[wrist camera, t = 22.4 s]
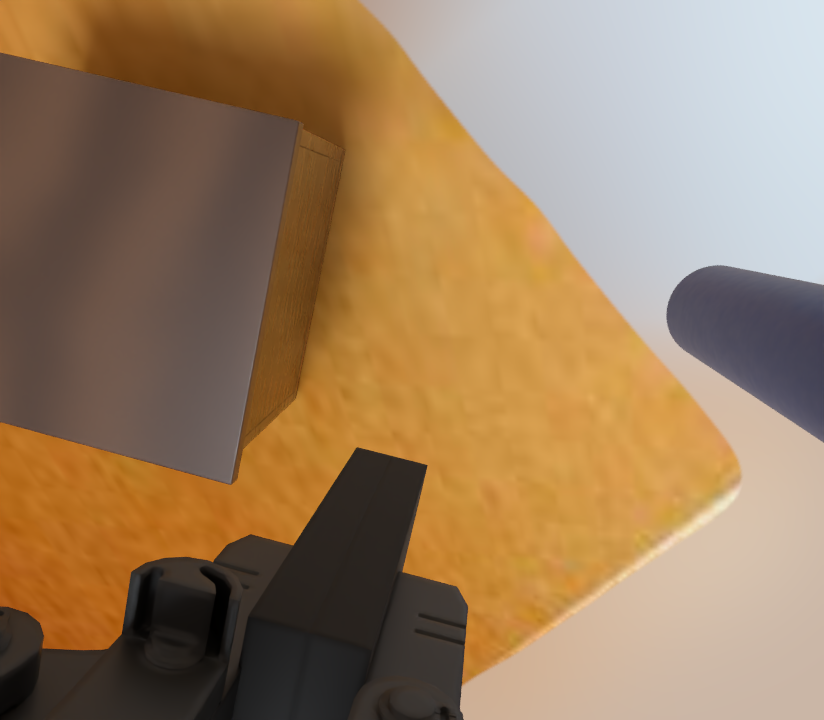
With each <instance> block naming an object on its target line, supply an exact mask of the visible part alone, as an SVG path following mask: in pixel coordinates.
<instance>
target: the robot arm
mask: <svg viewBox="0 0 824 720" xmlns="http://www.w3.org/2000/svg"><path fill="white" fill-rule="evenodd" d="M426 469H427V465H425V464H421V463H417V462H413V461H409V460H405V459H401V458H397V457H393V456H389V455H385V454H381V453H378V452H374V451H370V450H366V449H362V448H358V447H357V448H356V450H355V451H354V453H353V454H352V456H351V457H350V459H349V460H348V462H347V463H346V465H345V467H344V468H343V470H342V471H341V473H340V474H339V476H338V477H337V479H336V481H335V482H334V484H333V485H332V487H331V488H330V490H329V491H328V493H327V494H326V496H325V498H324V499H323V501H322V502H321V504H320V505H319V507H318V508H317V510H316V512H315V513H314V515H313V516H312V518H311V519H310V521H309V522H308V524H307V525H306V527H305V529H304V530H303V532H302V533H301V535H300V536H299V538H298V539H297V541H296V543H295V544H294V546H292V545H289V544H285V543H281V542H277V541H274V540H270V539H266V538H262V537H258V536H255V535H248V536H246V537H244V538H241V539H239V540H237V541H235V542H232V543H230V544H228V545H227V546H226V547H225V548H224V549H223V550H222V552H221V553H220V554H219V555H218V556H217V557H216V559H215V560H214V562H210V561H208V560H202V559H196V558H190V557H175V558H163V559H159V560H155V561H151V562H147V563H145V564H143V565H142V566H140V567H138V568H137V569H135V570H133V571H132V572H131V578H130V584H129V591H128V597H127V604H126V610H125V617H124V624H123V630H122V634H121V636H120V637H119V638H118V639H117V640H116V641H115V642H114V643H113V644H112V645H111V646H110V648H109V649H104V650H62V649H42V646H43V638H44V635H43V632H42V628H41V625H40V623H39V622H38V621H37V620H35V619H34V618H33V617H32V616H30V615H29V614H28V613H25V612H22V611H19V610H16V609H13V608H9V607H0V720H463V714H462V712H461V711H460V698H461V686H462V674H463V662H464V649H465V646H464V645H465V637H466V625H467V613H468V606H467V604H466V602H465V600H464V598H463V597H462V595H461V593H460V591H459V590H458V588H457V587H456V586H452V585H448V584H445V583H441V582H437V581H433V580H430V579H426V578H422V577H418V576H414V575H411V574H407V573H403V572H402V570H403V566H404V562H405V558H406V553H407V549H408V545H409V541H410V537H411V532H412V528H413V524H414V520H415V516H416V511H417V507H418V503H419V499H420V495H421V490H422V486H423V482H424V478H425V474H426Z"/></svg>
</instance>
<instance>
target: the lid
mask: <svg viewBox="0 0 824 720" xmlns="http://www.w3.org/2000/svg"><path fill="white" fill-rule="evenodd" d="M303 126H304V124H303V123H302V122H300V121H297V120H293V119H288V118H284V117H280V116H275V115H271V114H267V113H262V112H258V111H253V110H249V109H245V108H240V107H236V106H232V105H227V104H223V103H218V102H214V101H210V100H205V99H201V98H197V97H192V96H188V95H183V94H179V93H175V92H170V91H166V90H162V89H157V88H153V87H148V86H144V85H140V84H135V83H131V82H127V81H122V80H118V79H113V78H109V77H105V76H100V75H96V74H92V73H87V72H83V71H79V70H74V69H70V68H65V67H61V66H57V65H52V64H48V63H44V62H39V61H35V60H30V59H26V58H22V57H17V56H13V55H9V54H4V53H0V422H3V423H6V424H10V425H14V426H17V427H21V428H24V429H28V430H32V431H35V432H39V433H43V434H46V435H50V436H54V437H57V438H61V439H65V440H68V441H72V442H76V443H79V444H83V445H87V446H90V447H94V448H98V449H101V450H105V451H109V452H112V453H116V454H120V455H123V456H127V457H131V458H134V459H138V460H142V461H145V462H149V463H153V464H156V465H160V466H164V467H167V468H171V469H175V470H178V471H182V472H185V473H189V474H193V475H196V476H200V477H204V478H207V479H211V480H215V481H218V482H222V483H226V484H229V485H232V484H233V483H234V482H235V481H236V480H237V477H238V472H239V467H240V461H241V456H242V451H243V445H244V440H245V435H246V429H247V424H248V419H249V413H250V408H251V403H252V397H253V392H254V387H255V382H256V376H257V371H258V366H259V360H260V355H261V350H262V344H263V339H264V334H265V328H266V323H267V318H268V312H269V307H270V302H271V296H272V291H273V286H274V280H275V275H276V270H277V264H278V259H279V254H280V248H281V243H282V238H283V233H284V227H285V222H286V217H287V211H288V206H289V201H290V195H291V190H292V185H293V179H294V174H295V169H296V163H297V158H298V153H299V147H300V142H301V137H302V131H303Z"/></svg>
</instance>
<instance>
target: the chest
mask: <svg viewBox="0 0 824 720" xmlns="http://www.w3.org/2000/svg"><path fill="white" fill-rule="evenodd" d="M344 155H345V150H344V149H343V148H341V147H339V146H337V145H335V144H333V143H331V142H329V141H327V140H324V139H322V138H320V137H318V136H316V135H314V134H312V133H310V132H308V131H306V130H304V129H303V131H302V137H301V142H300V147H299V153H298V158H297V163H296V169H295V174H294V179H293V185H292V190H291V195H290V201H289V206H288V211H287V217H286V222H285V227H284V233H283V238H282V243H281V248H280V254H279V259H278V264H277V270H276V275H275V280H274V286H273V291H272V296H271V302H270V307H269V312H268V318H267V323H266V328H265V334H264V339H263V344H262V350H261V355H260V360H259V366H258V371H257V376H256V382H255V387H254V392H253V397H252V403H251V408H250V413H249V419H248V424H247V429H246V435H245V440H244V445H243V449H244V448H245V447H246V446H247V445H248V444H249V443H250V442H251V441H252V440H253V439H254V438H255V437H256V436H257V435H258V434H259V433H260V432H261V431H262V430H263V429H265V428H266V427H267V426H268V425H269V424H270V423H271V422H272V421H273V420H274V419H275V418H276V417H277V416H278V415H279V414H280V413H281V412H282V411H283V410H284V409H286V408H287V407H288V406H289V405H290V404H291V403H292V402H293V401H294V400H295V398H296V393H297V388H298V383H299V378H300V373H301V368H302V363H303V358H304V353H305V348H306V343H307V338H308V333H309V328H310V323H311V318H312V313H313V308H314V304H315V299H316V294H317V289H318V284H319V279H320V274H321V269H322V264H323V259H324V254H325V249H326V244H327V239H328V234H329V229H330V224H331V219H332V214H333V209H334V204H335V199H336V194H337V189H338V184H339V179H340V174H341V169H342V164H343V159H344Z"/></svg>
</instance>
